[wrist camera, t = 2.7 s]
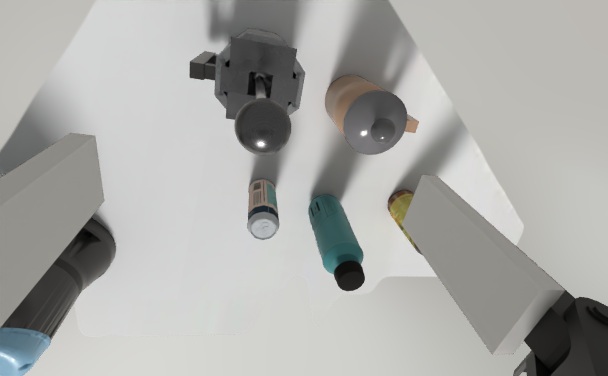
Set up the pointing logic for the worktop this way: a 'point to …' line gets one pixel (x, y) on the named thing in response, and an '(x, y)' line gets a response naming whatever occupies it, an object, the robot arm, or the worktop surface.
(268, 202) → the beer can
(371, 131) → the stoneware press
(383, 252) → the worktop surface
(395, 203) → the sauce bottle
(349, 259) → the beverage bottle
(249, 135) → the plunger
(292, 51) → the steel carafe
